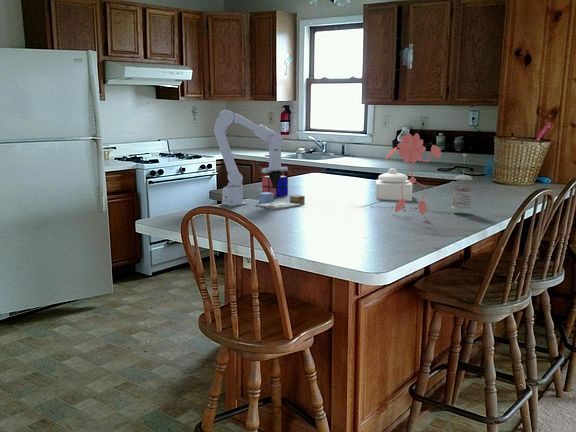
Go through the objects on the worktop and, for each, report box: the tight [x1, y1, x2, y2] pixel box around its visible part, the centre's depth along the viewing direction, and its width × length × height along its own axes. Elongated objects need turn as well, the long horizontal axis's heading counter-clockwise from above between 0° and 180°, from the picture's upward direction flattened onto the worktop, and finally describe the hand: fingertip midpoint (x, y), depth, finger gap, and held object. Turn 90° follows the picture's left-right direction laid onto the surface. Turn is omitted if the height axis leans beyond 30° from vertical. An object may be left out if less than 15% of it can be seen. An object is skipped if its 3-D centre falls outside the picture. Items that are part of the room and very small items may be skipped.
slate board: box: [255, 200, 302, 211], centre depth 271 cm, size 16×14×1 cm
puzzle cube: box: [261, 175, 289, 198], centre depth 306 cm, size 10×10×10 cm
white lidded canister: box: [375, 167, 413, 202], centre depth 292 cm, size 18×18×16 cm
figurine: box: [384, 132, 442, 219], centre depth 247 cm, size 15×26×35 cm, turn 54°
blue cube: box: [258, 192, 275, 204], centre depth 280 cm, size 5×5×5 cm
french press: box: [447, 153, 474, 211], centre depth 265 cm, size 10×12×25 cm
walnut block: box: [289, 194, 305, 205], centre depth 279 cm, size 5×5×4 cm
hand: (274, 186), depth 277 cm, fingers closed
